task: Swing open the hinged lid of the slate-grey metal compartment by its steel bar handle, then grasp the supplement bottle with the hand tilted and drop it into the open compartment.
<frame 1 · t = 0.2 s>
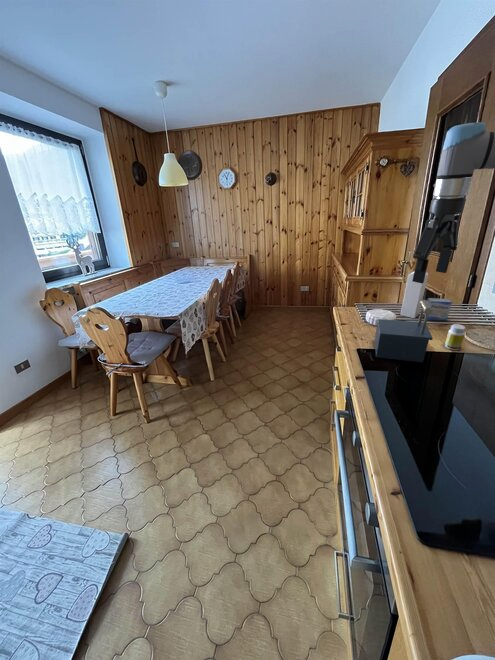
hand: (429, 277, 83), 30 cm above the counter, tool pointing down, fingers open, 13 cm apart
compartment: (396, 351, 103), on the counter
milk: (409, 315, 128), on the counter
medicine box: (434, 318, 124), on the counter
compartment lid: (405, 316, 96), point 14 cm above the counter, hinge at 0.0°
mooncake: (380, 321, 125), on the counter
supplement bottle: (451, 347, 103), on the counter
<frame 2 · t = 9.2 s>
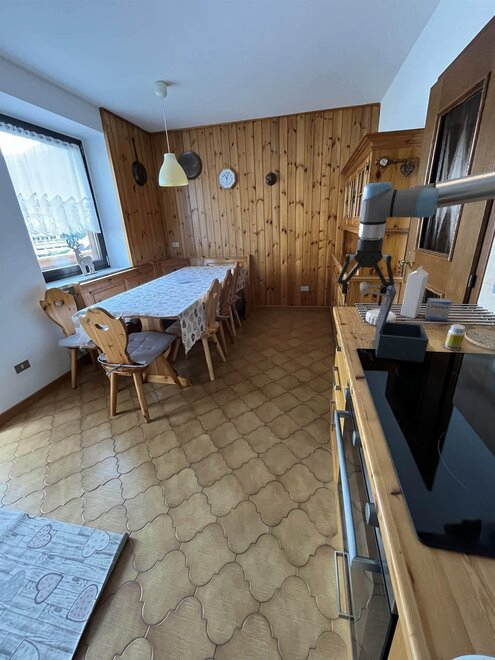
hand: (361, 303, 99), 18 cm above the counter, tool pointing down, fingers open, 10 cm apart
compartment lid: (371, 304, 98), point 18 cm above the counter, hinge at 81.9°, touching gripper
everything else where it was.
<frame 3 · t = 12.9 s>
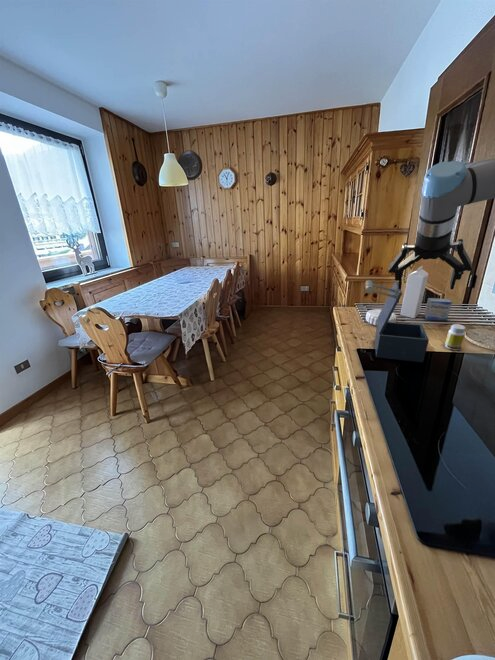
hand: (424, 286, 87), 26 cm above the counter, tool tilted 30°, fingers open, 13 cm apart
compartment lid: (374, 303, 97), point 18 cm above the counter, hinge at 75.4°, touching gripper
everything else where it was.
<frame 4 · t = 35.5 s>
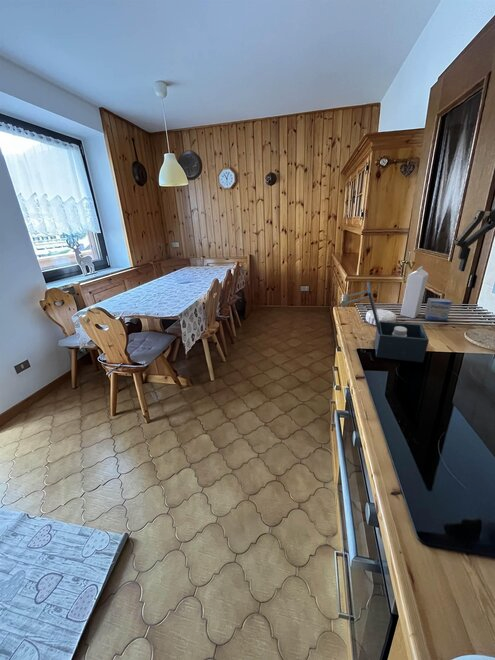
hand: (488, 270, 81), 31 cm above the counter, tool pointing down, fingers open, 13 cm apart
compartment lid: (359, 310, 100), point 15 cm above the counter, hinge at 109.9°
supplement bottle: (396, 349, 102), point 1 cm above the counter, touching compartment
everything else where it was.
at the end: compartment lid at +110° (first picture: +0°); supplement bottle inside the target area in the compartment (0.4 cm from its centre), point 0.6 cm above the compartment's base; the gripper is holding nothing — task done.
